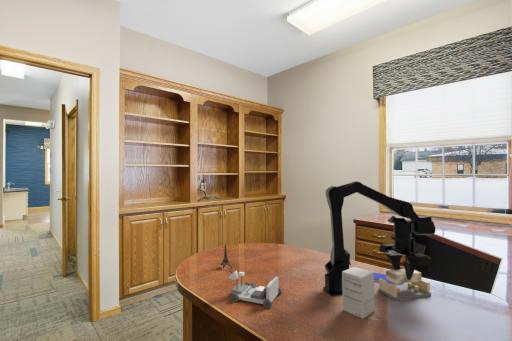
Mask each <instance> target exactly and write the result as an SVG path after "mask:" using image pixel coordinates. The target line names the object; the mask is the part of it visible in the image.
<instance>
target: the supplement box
mask: <svg viewBox="0 0 512 341" xmlns="http://www.w3.org/2000/svg"><path fill="white" fill-rule="evenodd" d="M374 273H375V272H374ZM374 273H373V271H370V270H367V269H363V268H359V267H356V266H352V267H349V269H347V270H345V271H343V272H342V291H343V294H342V310H343V311H344V312H347V313H349V314H352V315H353V316H356V317H358V318H361V319H365V318H367V317H368V316H370V315H371V314H373V313H374V312H375V311H376V310H375V309H376V308H375V305H376V304H375V281H374Z"/></svg>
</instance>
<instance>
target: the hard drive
mask: <svg viewBox="0 0 512 341" xmlns="http://www.w3.org/2000/svg"><path fill="white" fill-rule="evenodd" d="M372 272H373V271H372ZM373 273H374V282H376V283H379V279H383V280H385V281H387V282H389V283H390V284H392V285H394V286H395V285H403V284H405V283H400V284H395V283H393V282H391V281H389V280H388V279H386V273H379V272H373Z"/></svg>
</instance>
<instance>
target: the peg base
mask: <svg viewBox="0 0 512 341" xmlns="http://www.w3.org/2000/svg"><path fill="white" fill-rule="evenodd" d="M430 284H431V282H428V281H426V280H425V279H422V278H421V281H416V282H408V283H404V284H403V285H392V284H390V283H389V282H387V281H385V280H383V279H379V282H378V289H377V290H378V291H379V292H381V294H384V295H386V296H387V297H389V298H390V299H392V300H394V301H396V302H399V301H405V300H413V299H418V298H419V299H420V298H426V297H432V293H431V289H430V288H431V285H430Z"/></svg>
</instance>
